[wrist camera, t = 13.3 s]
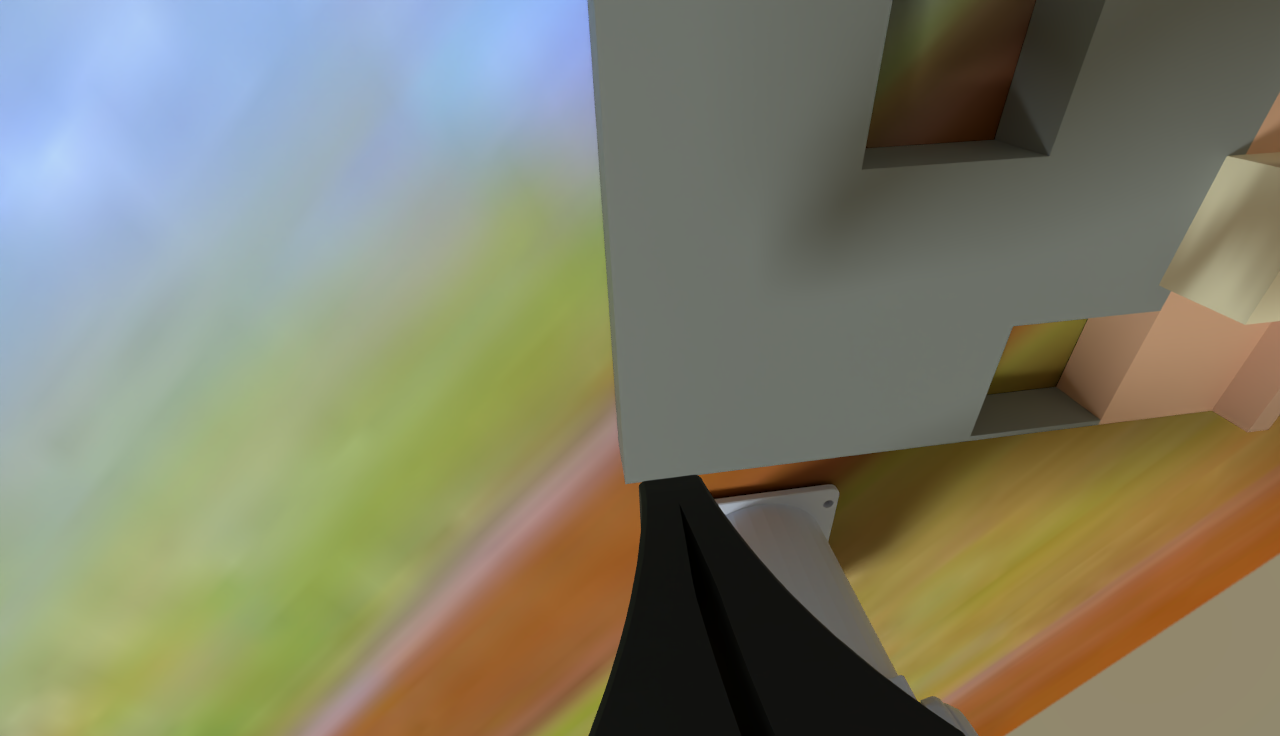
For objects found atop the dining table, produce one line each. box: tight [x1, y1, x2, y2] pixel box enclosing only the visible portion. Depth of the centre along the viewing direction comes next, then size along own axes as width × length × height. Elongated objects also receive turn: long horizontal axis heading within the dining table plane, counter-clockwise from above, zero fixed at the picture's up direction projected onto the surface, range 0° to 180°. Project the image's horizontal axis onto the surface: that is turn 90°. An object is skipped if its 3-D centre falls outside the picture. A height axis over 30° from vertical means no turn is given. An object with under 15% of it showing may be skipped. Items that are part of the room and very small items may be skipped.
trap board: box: [588, 0, 1280, 484], centre depth 19 cm, size 17×27×4 cm, turn 92°
